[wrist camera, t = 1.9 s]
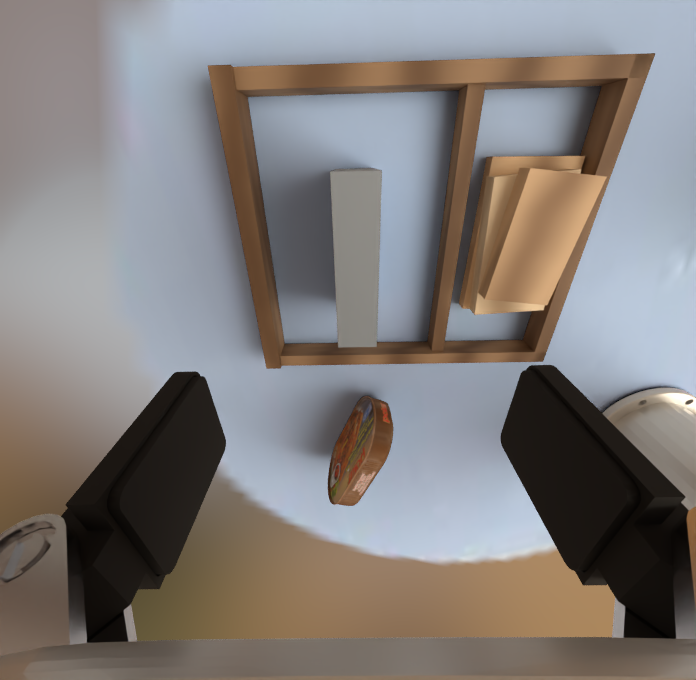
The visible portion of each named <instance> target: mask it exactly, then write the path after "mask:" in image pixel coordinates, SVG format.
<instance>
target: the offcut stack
mask: <svg viewBox="0 0 696 680" xmlns="http://www.w3.org/2000/svg"><path fill="white" fill-rule="evenodd" d="M584 159H585V156H517V157H487V158H486V164H485V169H484V174H483V179H482V185H481V190H480V195H479V200H478V206H477V211H476V216H475V221H474V227H473V232H472V237H471V242H470V248H469V253H468V258H467V263H466V269H465V274H464V279H463V284H462V290H461V295H460V300H459V304H460V306H461V307H462V308H463V309H470V310H471V311H472V312H473V313H474V315H477V314H492V313H507V312H523V311H538V310H544V307H545V305H548V302H549V300H550V298H551V296H552V294H553V292H554V290H555V287H556V285H557V283H558V281H559V279H560V277H561V275H562V272H563V270H564V268H565V266H566V264H567V262H568V259H569V257H570V255H571V253H572V251H573V249H574V247H575V244H576V242H577V240H578V238H579V236H580V234H581V232H582V229H583V227H584V225H585V223H586V221H587V219H588V216H589V214H590V212H591V210H592V208H593V206H594V204H595V201H596V199H597V197H598V195H599V193H600V191H601V189H602V186H603V184H604V182H605V180H606V178H607V177H605V176H597V175H588V174H580V173H581V170H582V169H581V168H582V165H583V162H584Z"/></svg>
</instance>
